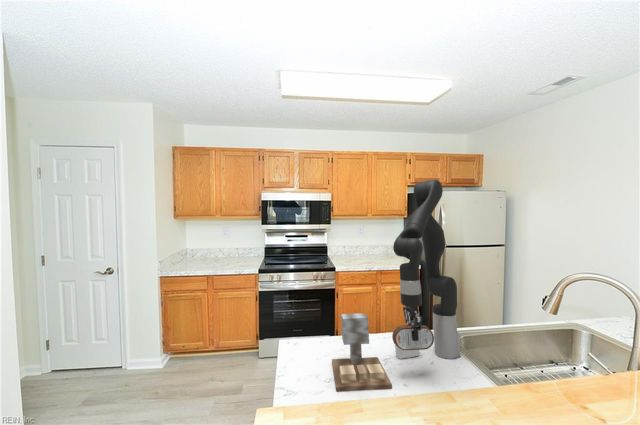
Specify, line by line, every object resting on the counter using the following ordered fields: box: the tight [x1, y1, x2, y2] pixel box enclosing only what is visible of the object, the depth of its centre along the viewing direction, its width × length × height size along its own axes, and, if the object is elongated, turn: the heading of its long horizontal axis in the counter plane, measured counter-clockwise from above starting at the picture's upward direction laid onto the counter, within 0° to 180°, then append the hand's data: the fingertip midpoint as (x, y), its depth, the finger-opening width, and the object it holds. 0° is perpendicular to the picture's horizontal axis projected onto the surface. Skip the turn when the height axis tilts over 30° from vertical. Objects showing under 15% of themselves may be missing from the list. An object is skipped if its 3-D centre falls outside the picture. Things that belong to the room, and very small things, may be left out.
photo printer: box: [394, 344, 420, 360], centre depth 116 cm, size 10×4×12 cm, turn 104°
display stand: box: [331, 312, 393, 392], centre depth 103 cm, size 19×20×20 cm
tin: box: [392, 324, 434, 351], centre depth 101 cm, size 15×3×8 cm, turn 92°
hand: (413, 338), depth 101 cm, fingers closed on tin, 2 cm apart
